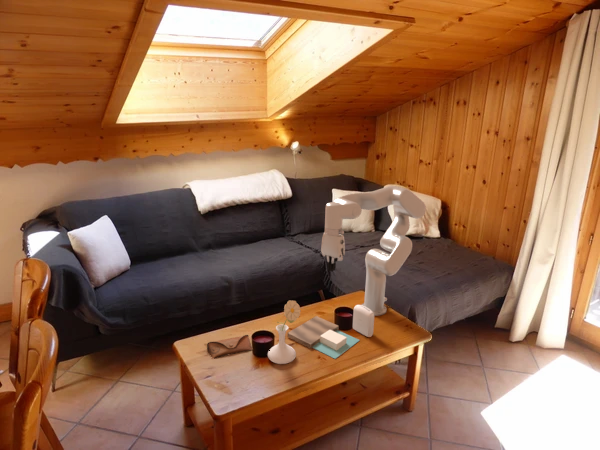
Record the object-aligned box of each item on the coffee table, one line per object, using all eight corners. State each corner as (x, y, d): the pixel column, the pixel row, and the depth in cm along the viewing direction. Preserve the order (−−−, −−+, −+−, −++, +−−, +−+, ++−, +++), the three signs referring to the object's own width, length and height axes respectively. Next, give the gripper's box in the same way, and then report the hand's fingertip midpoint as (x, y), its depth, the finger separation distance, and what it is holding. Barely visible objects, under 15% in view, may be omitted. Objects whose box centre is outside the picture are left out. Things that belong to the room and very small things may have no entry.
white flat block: (329, 335, 180) (329, 329, 179) (346, 343, 174) (346, 337, 173) (319, 342, 175) (319, 335, 174) (336, 350, 169) (336, 344, 168)
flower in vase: (272, 369, 157) (272, 311, 149) (264, 353, 167) (263, 297, 160) (304, 362, 161) (305, 305, 154) (293, 346, 172) (294, 292, 164)
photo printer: (350, 328, 186) (352, 304, 183) (357, 325, 189) (359, 301, 185) (368, 338, 179) (369, 313, 175) (374, 335, 181) (376, 310, 178)
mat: (337, 330, 184) (337, 329, 184) (359, 340, 177) (359, 340, 177) (311, 347, 171) (312, 346, 171) (335, 359, 164) (335, 358, 164)
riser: (316, 319, 193) (316, 315, 192) (338, 329, 185) (338, 325, 184) (287, 336, 178) (287, 332, 178) (310, 348, 170) (310, 344, 170)
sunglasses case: (211, 359, 162) (208, 342, 163) (208, 359, 168) (206, 342, 169) (254, 349, 169) (252, 333, 170) (250, 349, 175) (247, 333, 176)
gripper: (352, 232, 174) (350, 272, 180) (324, 225, 184) (323, 263, 189) (342, 236, 169) (340, 277, 174) (314, 229, 178) (313, 268, 183)
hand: (331, 270), depth 181 cm, fingers closed
